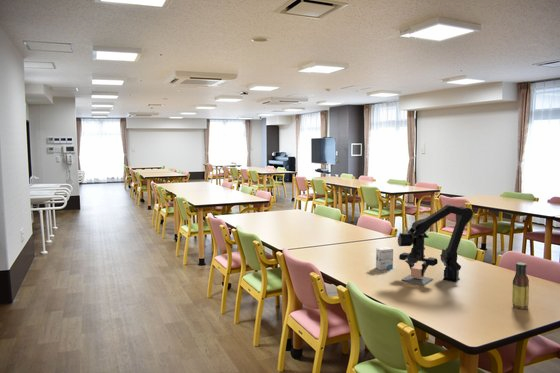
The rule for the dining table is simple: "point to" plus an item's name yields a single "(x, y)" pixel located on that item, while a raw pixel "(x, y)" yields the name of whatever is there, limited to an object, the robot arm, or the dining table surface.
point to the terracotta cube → (416, 272)
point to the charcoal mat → (418, 280)
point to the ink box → (384, 258)
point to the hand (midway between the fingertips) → (417, 274)
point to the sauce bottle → (520, 287)
